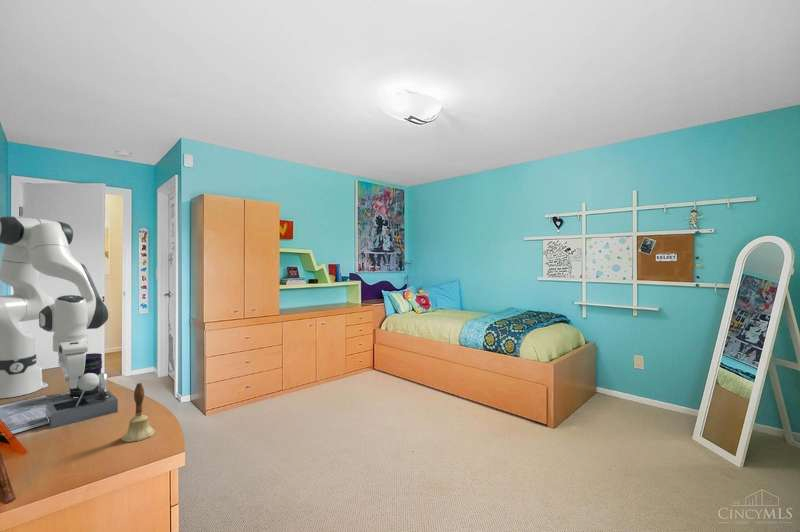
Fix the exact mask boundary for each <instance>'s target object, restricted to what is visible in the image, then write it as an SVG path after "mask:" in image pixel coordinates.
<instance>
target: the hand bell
mask: <svg viewBox="0 0 800 532" xmlns="http://www.w3.org/2000/svg"><path fill="white" fill-rule="evenodd" d="M133 391H134V392H133V399H134V402H135V414H134V416H132V418H130V420H129V425H128V429H127V431H126V432H125V433H124V435H122V438H121V441H123V442H126V443H132V442H133V443H134V442H140V441H143V440H146V439H149V438H150V437H153V436H154V435H155V434H156V430H155V428H153V427H151V425H150V422H149V417H148V415H144V414H143V401H144V399H145V389H144V386H143V383H141V382H137V383H136V385H135V389H134V390H133Z"/></svg>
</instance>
